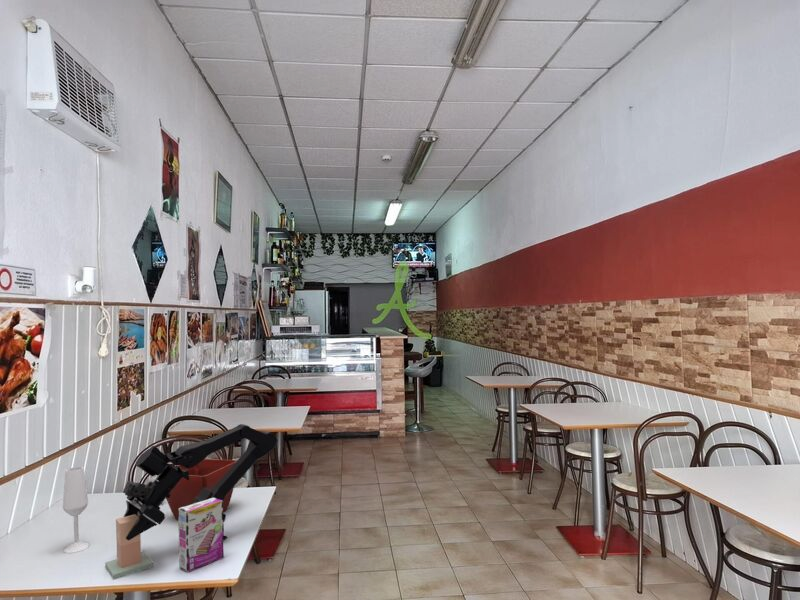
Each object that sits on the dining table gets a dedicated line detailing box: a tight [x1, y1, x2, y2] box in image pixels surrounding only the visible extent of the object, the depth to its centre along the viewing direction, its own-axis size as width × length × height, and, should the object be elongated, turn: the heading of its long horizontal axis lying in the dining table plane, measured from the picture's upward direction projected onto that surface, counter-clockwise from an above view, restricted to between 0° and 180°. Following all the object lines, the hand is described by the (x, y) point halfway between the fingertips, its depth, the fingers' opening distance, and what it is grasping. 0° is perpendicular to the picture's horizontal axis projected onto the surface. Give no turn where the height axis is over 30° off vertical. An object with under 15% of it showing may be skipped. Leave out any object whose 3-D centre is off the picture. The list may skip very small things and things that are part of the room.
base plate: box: [104, 551, 155, 580], centre depth 148 cm, size 10×10×1 cm
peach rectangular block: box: [115, 514, 142, 568], centre depth 149 cm, size 5×5×12 cm
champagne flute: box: [62, 466, 90, 554], centre depth 163 cm, size 7×7×24 cm
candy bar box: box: [178, 498, 224, 573], centre depth 149 cm, size 11×5×16 cm, turn 141°
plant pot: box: [165, 458, 238, 521], centre depth 187 cm, size 19×19×17 cm
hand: (122, 534), depth 148 cm, fingers open, 9 cm apart
